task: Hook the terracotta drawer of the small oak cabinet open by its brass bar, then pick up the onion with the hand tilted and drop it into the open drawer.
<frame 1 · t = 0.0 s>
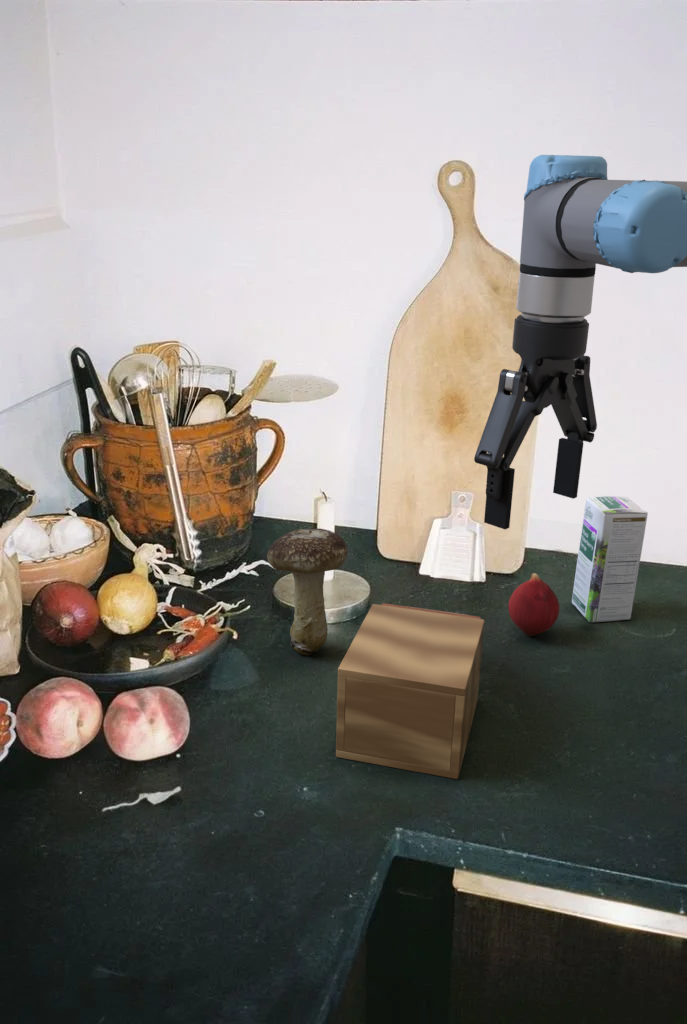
hand: (532, 509, 103), 17 cm above the worktop, tool pointing down, fingers open, 13 cm apart
drawer: (422, 660, 96), point 5 cm above the worktop, slide at 1.0 cm
syrup box: (600, 613, 118), on the worktop
onion: (530, 636, 111), on the worktop
cabinet: (410, 727, 93), on the worktop
mushroom: (307, 654, 106), on the worktop
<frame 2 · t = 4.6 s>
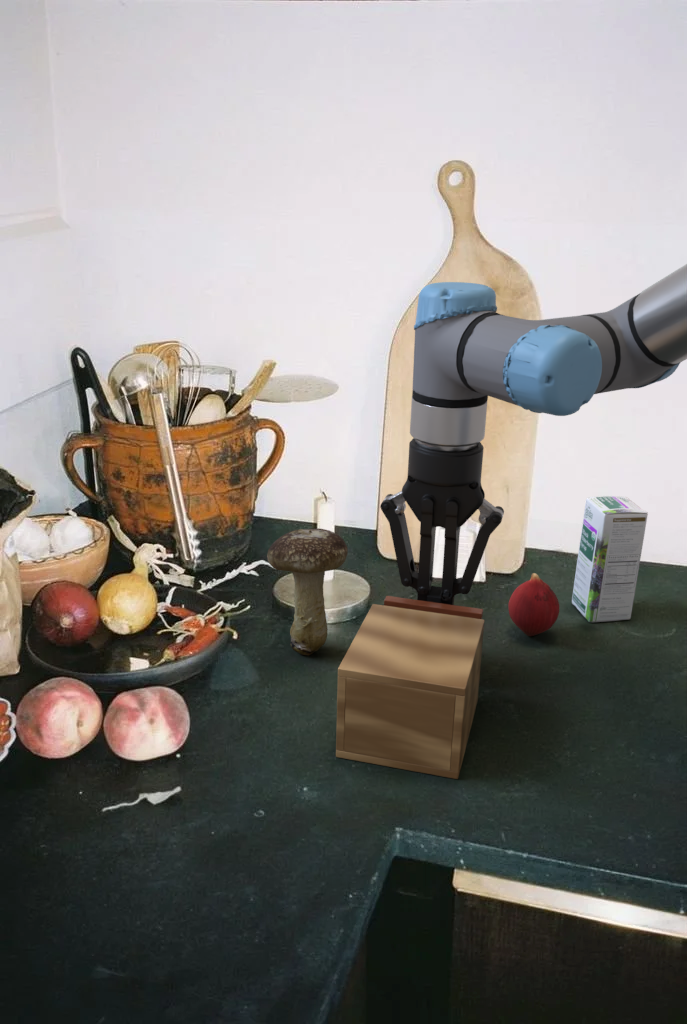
hand: (432, 644, 103), 3 cm above the worktop, tool pointing down, fingers closed
drawer: (425, 651, 97), point 5 cm above the worktop, slide at 2.9 cm
everything else where it was.
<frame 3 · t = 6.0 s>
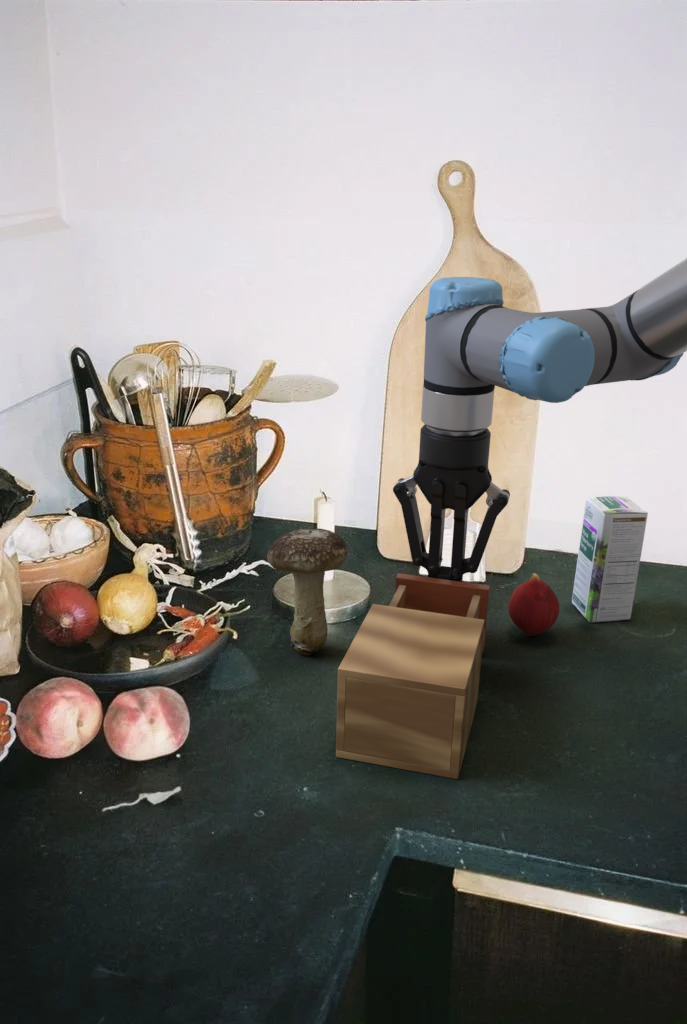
hand: (442, 621, 109), 2 cm above the worktop, tool pointing down, fingers closed
drawer: (435, 625, 103), point 5 cm above the worktop, slide at 8.9 cm, touching gripper
everything else where it was.
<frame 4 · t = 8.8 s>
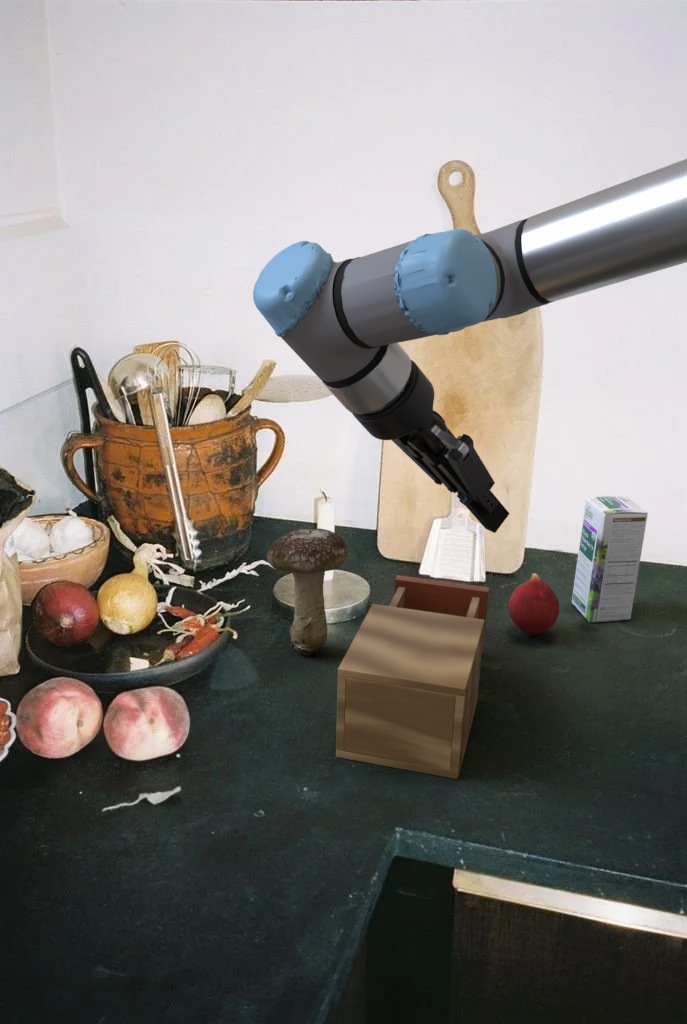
hand: (497, 521, 102), 16 cm above the worktop, tool tilted 45°, fingers closed
drawer: (434, 627, 102), point 5 cm above the worktop, slide at 8.3 cm
everything else where it was.
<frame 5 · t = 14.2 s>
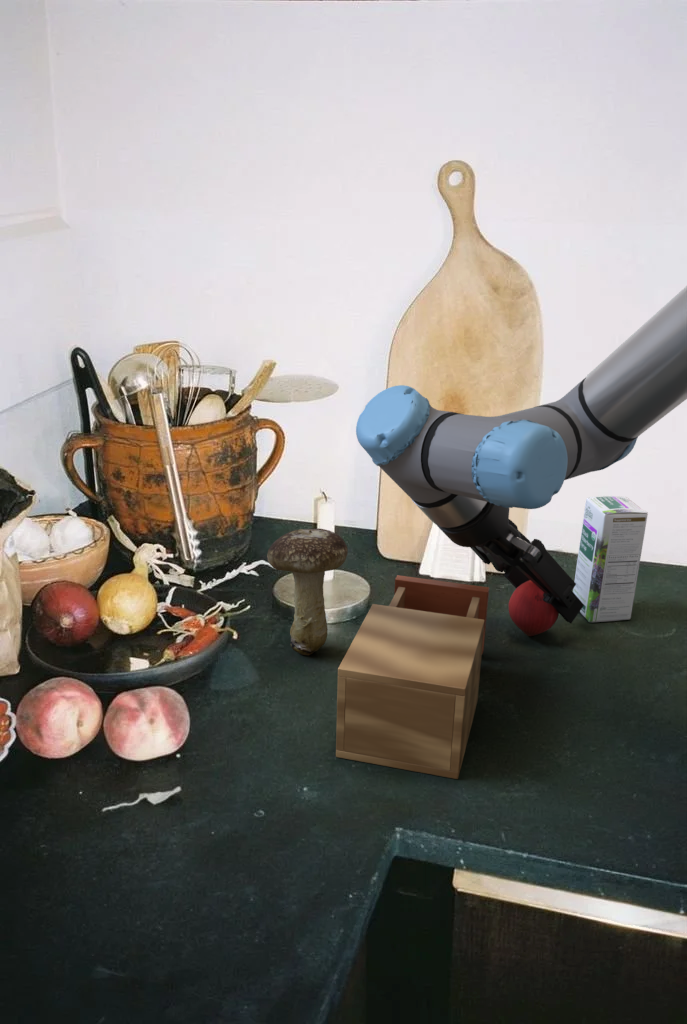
hand: (555, 602, 112), 3 cm above the worktop, tool tilted 45°, fingers closed on onion, 6 cm apart
onion: (530, 636, 111), on the worktop, touching gripper
everything else where it was.
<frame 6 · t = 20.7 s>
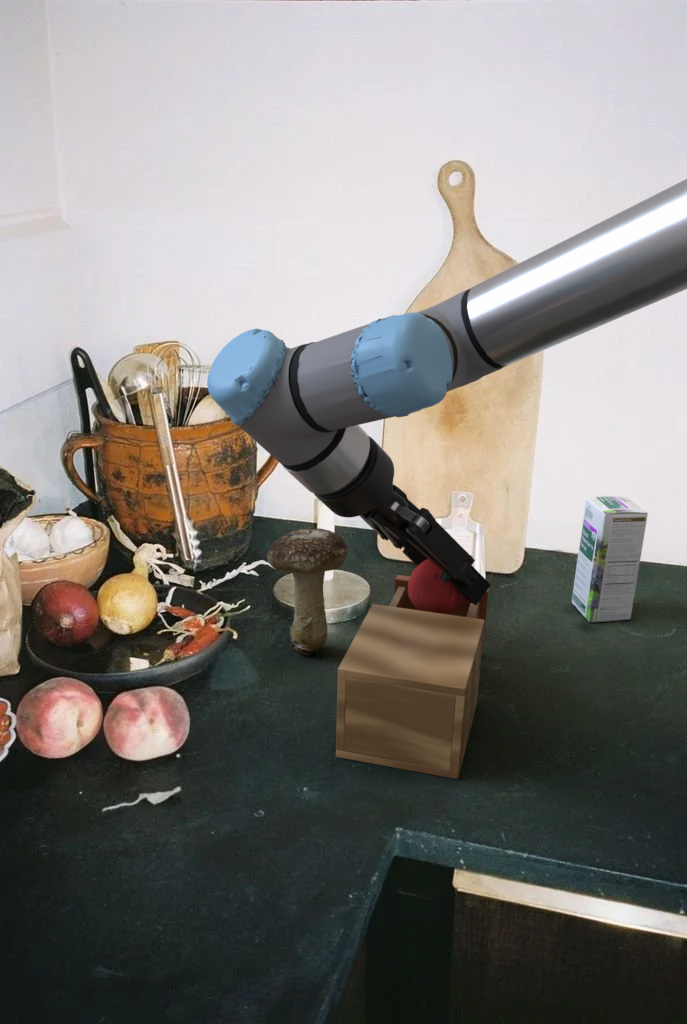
hand: (461, 582, 101), 10 cm above the worktop, tool tilted 45°, fingers closed on onion, 6 cm apart
onion: (433, 620, 100), point 6 cm above the worktop, touching gripper
everything else where it was.
when the fingers open (12 cm above the worktop, at t = 28.7 s): onion drops 7 cm, resting on drawer.
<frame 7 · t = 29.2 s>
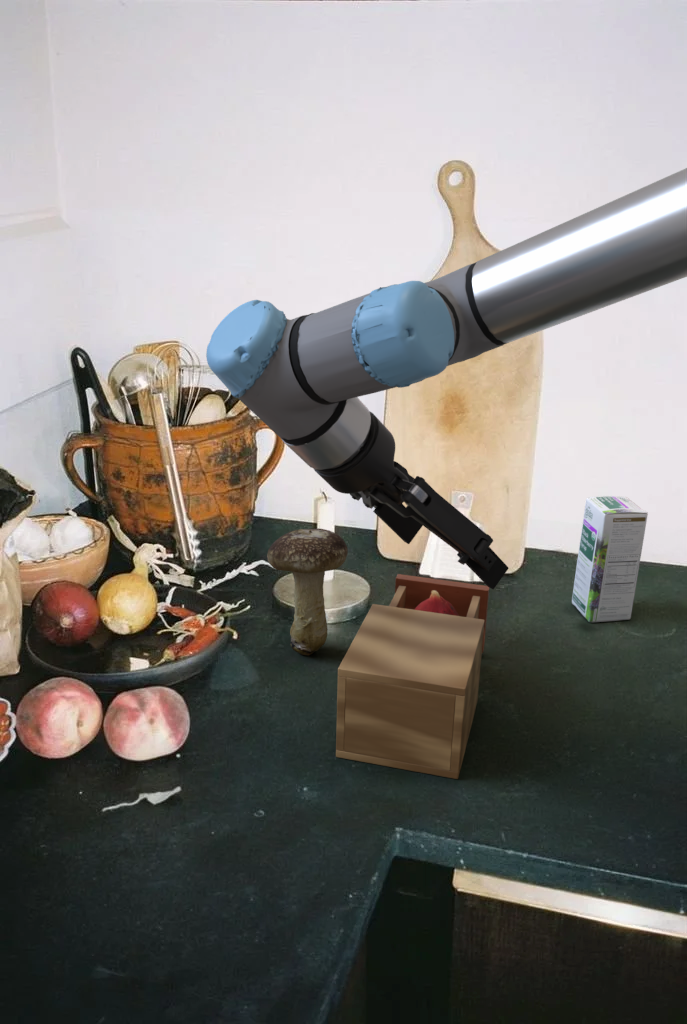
hand: (454, 554, 99), 14 cm above the worktop, tool tilted 45°, fingers open, 13 cm apart
drawer: (435, 626, 103), point 5 cm above the worktop, slide at 8.7 cm, touching onion
onion: (433, 660, 102), point 2 cm above the worktop, touching drawer
everything else where it was.
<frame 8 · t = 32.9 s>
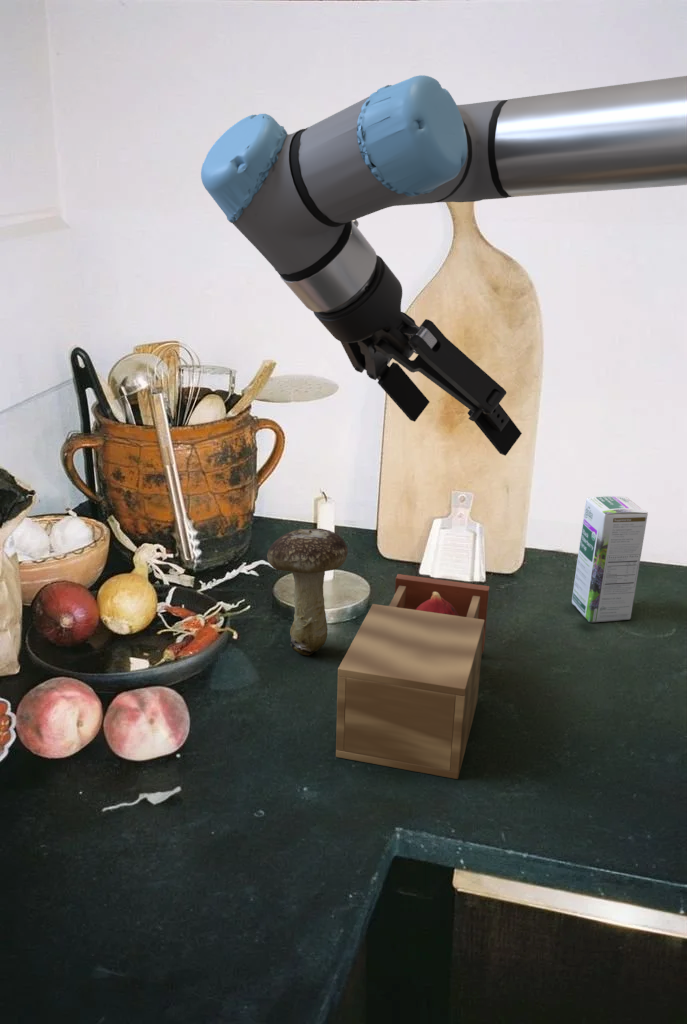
hand: (463, 426, 94), 28 cm above the worktop, tool tilted 45°, fingers open, 13 cm apart
nothing on the worktop moved.
at the end: drawer slide at 8.7 cm; onion inside the target area in the drawer (1.1 cm from its centre), point 1.8 cm above the cabinet's base; the gripper is holding nothing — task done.
